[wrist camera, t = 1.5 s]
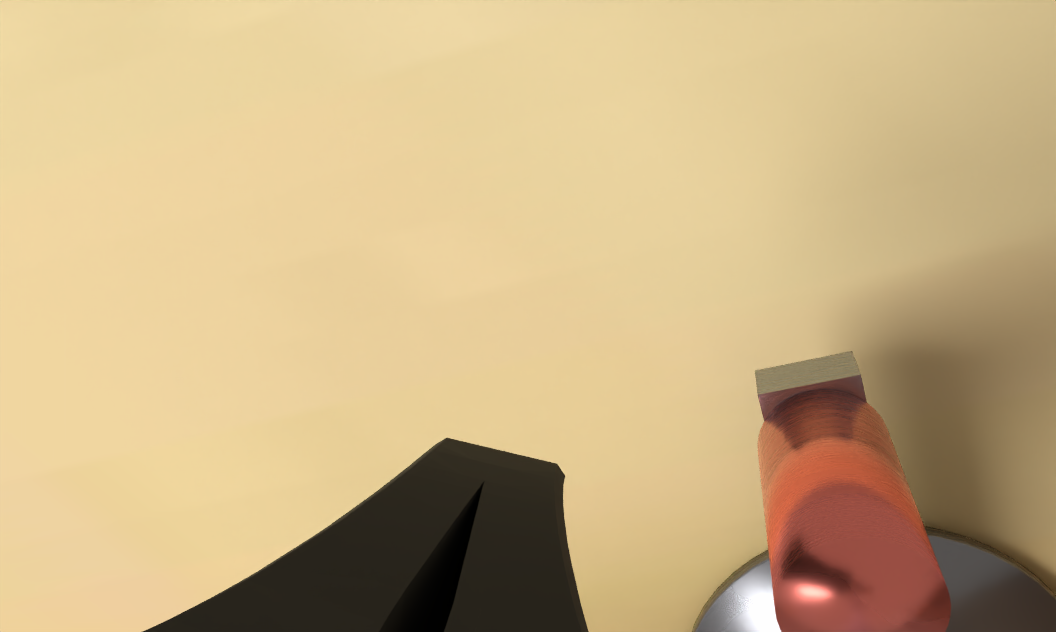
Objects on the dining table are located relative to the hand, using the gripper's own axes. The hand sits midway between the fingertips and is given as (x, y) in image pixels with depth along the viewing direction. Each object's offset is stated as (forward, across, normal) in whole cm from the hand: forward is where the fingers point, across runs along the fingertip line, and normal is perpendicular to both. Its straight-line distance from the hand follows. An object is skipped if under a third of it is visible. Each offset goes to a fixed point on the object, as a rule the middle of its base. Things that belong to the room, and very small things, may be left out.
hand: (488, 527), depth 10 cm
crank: (+5, -6, +3) cm, 8 cm away
